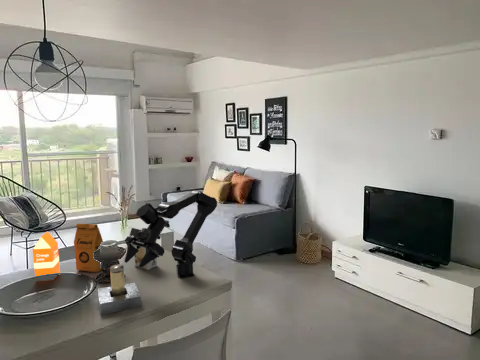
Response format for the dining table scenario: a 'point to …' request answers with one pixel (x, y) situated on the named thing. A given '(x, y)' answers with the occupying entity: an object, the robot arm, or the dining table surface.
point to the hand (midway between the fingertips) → (132, 264)
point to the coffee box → (139, 257)
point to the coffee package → (87, 247)
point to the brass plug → (117, 280)
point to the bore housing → (118, 299)
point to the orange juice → (46, 256)
